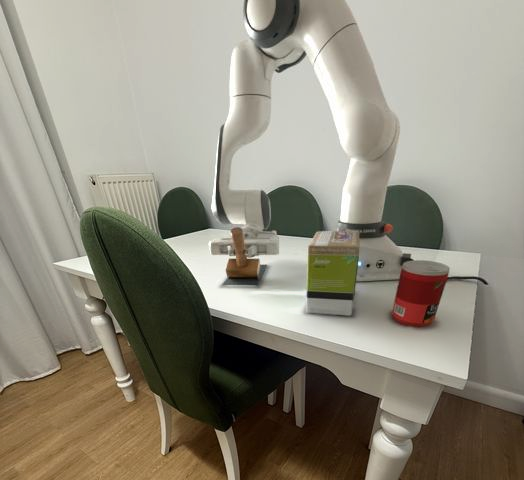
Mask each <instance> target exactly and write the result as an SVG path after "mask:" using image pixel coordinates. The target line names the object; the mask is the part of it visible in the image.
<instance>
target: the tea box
mask: <svg viewBox="0 0 524 480" xmlns="http://www.w3.org/2000/svg"><path fill="white" fill-rule="evenodd" d="M359 248H360V245H359V231H337V230H322V231H321V230H317V231H316V232H315V234H314V236H313V237H312V239H311V241H310V242H309V245H308V246H307V264H306V267H307V270H306V298H305V299H306V303H305V308H306V309H305V312H306V313H308V314H317V315H330V316H331V315H333V316H352V312H353V306H354V299H355V292H356V284H357V281H356V277H357V269H358V260H359Z"/></svg>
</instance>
